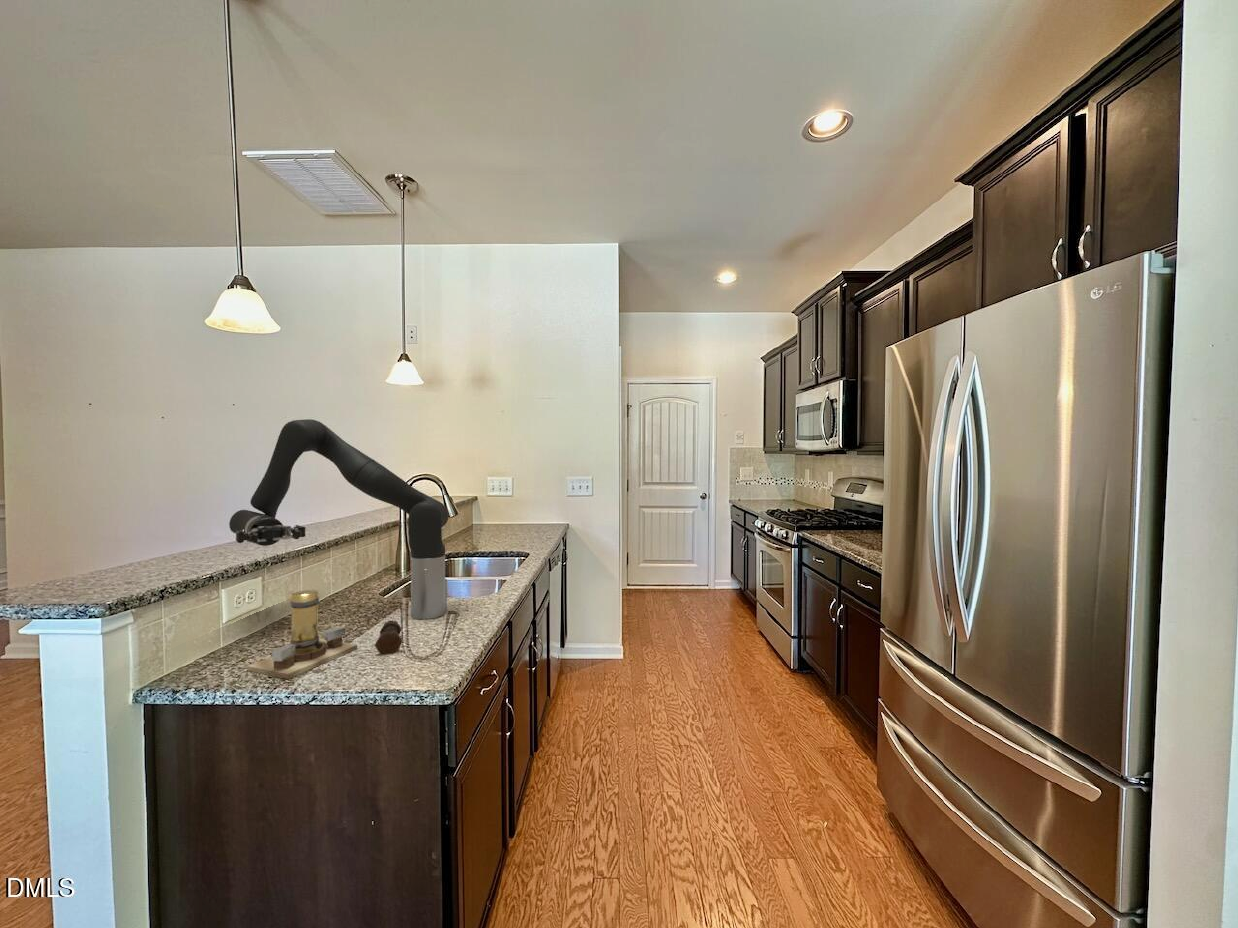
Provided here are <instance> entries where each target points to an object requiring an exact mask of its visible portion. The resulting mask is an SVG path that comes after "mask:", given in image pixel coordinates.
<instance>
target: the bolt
mask: <svg viewBox="0 0 1238 928" xmlns="http://www.w3.org/2000/svg"><path fill="white" fill-rule="evenodd" d="M401 632H402V627H401V626H400V624H399V622H398V621H396V620H388V621H386V622H385V623H384V624H383V625H382V627H381V629H380V631H379V636H378V638H377V640H376V642H375V644H374V646H375V648H376V649H377V651H378V652H379V654H380V655H381V656H387V655H393V654H397V652H398V651H399V649H400V648H401V645H402V643H403V639H402V637H401V636H400V634H401Z"/></svg>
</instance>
